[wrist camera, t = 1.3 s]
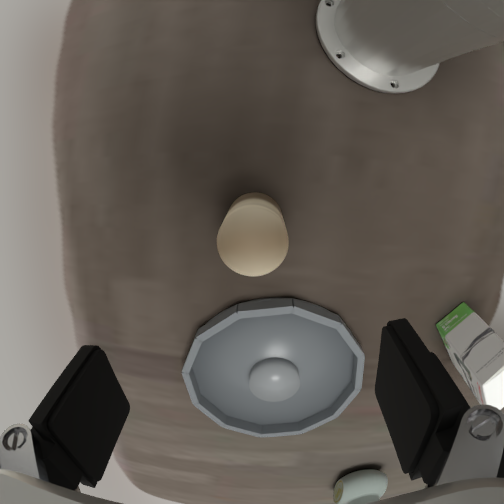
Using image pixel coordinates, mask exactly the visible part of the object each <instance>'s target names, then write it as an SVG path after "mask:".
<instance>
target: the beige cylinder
mask: <svg viewBox="0 0 504 504" xmlns="http://www.w3.org/2000/svg"><path fill="white" fill-rule="evenodd" d="M288 245H289V240H288V234H287V230H286V227H285V223H284V219H283V216H282V212H281V209H280V207H279V205H278V204H277V203H276V201H275V200H274V199H272V198H271V197H270V196H268V195H266V194H263V193H258V192H251V193H247V194H244V195H242V196H240V197H239V198H237V199H236V200H235V201H234V202H233V203H232V205H231V207H230V209H229V211H228V213H227V215H226V217H225V219H224V221H223V223H222V225H221V227H220V229H219V232H218V236H217V248H218V252H219V255H220V257H221V259H222V260H223V262H224V263H225V264H226V265H227V266H228V267H229V268H230V269H231V270H233V271H235V272H237V273H239V274H241V275H245V276H261V275H265V274H267V273H270V272H271V271H273V270H275V269H276V268H277V267H278V266H279V265H280V264H281V263H282V262H283V260H284V258H285V256H286V254H287V251H288Z"/></svg>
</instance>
